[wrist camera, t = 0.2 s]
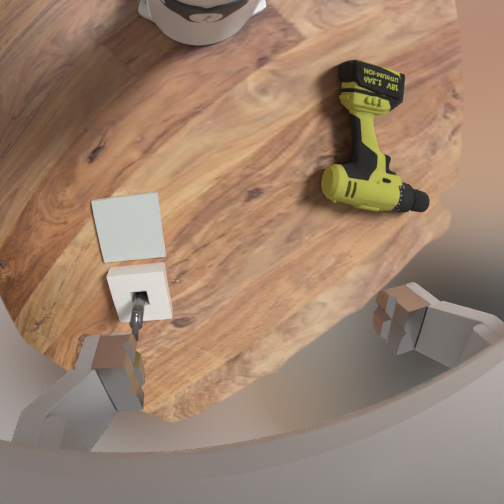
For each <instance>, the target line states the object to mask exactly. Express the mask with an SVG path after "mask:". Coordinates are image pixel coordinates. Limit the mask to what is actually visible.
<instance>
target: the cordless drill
mask: <svg viewBox="0 0 504 504" xmlns="http://www.w3.org/2000/svg"><path fill="white" fill-rule="evenodd" d="M339 79H340V81H341V82H342V86H341V95H340V96H339V98H340V103H341V104H343V105H344V106H345V108H346V109H348V110H349V112H350V122H351V131H352V141H353V154H352V160H351V162H350V163H348V164H331V165H330V166H329V167H327V168H326V169H325V171H324V173H323V175H322V180H321V188H322V192H323V194H324V195H325V196H326V197H327V198H328V199H330V200H331V201H332V202H334V203H336V202H337V201H339V202H343V203H347V204H351V205H352V206H353V207H355V208H359V209H365V210H370V211H375V212H377V211H379V210H380V211H382V212H383V211H389V210H392V211H398V212H408V211H409V210H411V211H415V212H424V211H425V210H427V208H428V207H429V205H430V201H429V197H428V195H427V194H426V193H425V192H422V191H419V190H416V189H413V188H412V187H411V186H410V185H409V184H406V183H402V181H401V178H400V176H398V175H396V173H395V172H392V171H390V170H389V163H390V160H391V158H390V156H388V155H385V154H383V153H381V152H380V150H379V147H378V144H377V140H376V136H375V132H374V127H373V118H374V116H375V115H380V114H386V113H388V112H390V111H391V110H393V109H394V108H395V107H397V106H398V105H399V104H400V103H402V101H403V93H404V82H405V75H404V74H402V73H399V72H396V71H393V70H390V69H387V68H383V67H380V66H377V65H374V64H370V63H367V62H363V61H360V60H350V61H346V62H343V63H341V64H340V65H339Z"/></svg>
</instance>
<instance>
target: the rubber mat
mask: <svg viewBox="0 0 504 504" xmlns="http://www.w3.org/2000/svg"><path fill="white" fill-rule="evenodd" d="M91 203H92V209H93V214H94V219H95V224H96V229H97V233H98V238H99V242H100V246H101V251H102V255H103V259H104V263H107V262H116V261H126V260H136V259H146V258H156V257H166V252H165V245H164V238H163V231H162V223H161V215H160V207H159V198H158V192H150V193H141V194H133V195H125V196H118V197H110V198H103V199H96V200H92V201H91Z"/></svg>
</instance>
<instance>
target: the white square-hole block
mask: <svg viewBox="0 0 504 504" xmlns="http://www.w3.org/2000/svg"><path fill="white" fill-rule="evenodd" d="M107 280H108V284H109V287H110V291H111V294H112V298H113V301H114V304H115V307H116V311H117V314H118V317H119V320H120V322H130V319H131V313H132V308H133V303H134V298H135V292H139V291H147V295H146V300H145V307H144V315H143V321H148V320H160V319H171V318H172V303H171V298H170V293H169V287H168V282H167V276H166V270H165V264H164V262H162V263H152V264H142V265H132V266H122V267H112V268H110V269H109V271H108V274H107Z"/></svg>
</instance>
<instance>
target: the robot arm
mask: <svg viewBox="0 0 504 504" xmlns="http://www.w3.org/2000/svg"><path fill="white" fill-rule="evenodd" d="M145 3H147V4H145ZM265 7H266V2H265V0H140V3H139V6H138V13H139V14H140V15H141V16H142V17H144V18H146V19H148V20H151V21H153V22H154V23H155V24H156V25H157V26H158V27H159V28H160V30H161V31H162V32H163V33H164V34H165V35H167V36H168V37H170V38H171V39H173V40H175V41H178V42H180V43H184V44H189V45H209V44H214V43H218V42H220V41H223V40H225V39H227V38H229V37H231V36H232V35H234V34H235V33H236V32H238V31H239V30H240V29H241V28H242V26H243V25H244V24H245V23H246V21H247V20H248V19H249V18H251V17H253V16H255V15H257V14H259V13H260V12H262V11H263V10H264V9H265ZM376 303H377V305H378V307H377V309H376V310H375V311H374V315H373V326H374V329H375V331H376V333H377V334H378V335H379V336H380V337H382V338H385V339H387V345H388V346H389V348H390V349H391V350H392V351H393V352H394V353H395V354H396V355H399V354H402V353H405V352H408V351H410V350H413V349H415V350H416V351H418V352H420V353H422V354H424V355H426V356H428V357H430V358H432V359H434V360H436V361H438V362H440V363H442V364H444V365H446V366H448V367H451V369H450V370H448V371H446V372H444V373H442V374H440V375H438V376H436V377H434V378H432V379H431V380H428V381H426V382H424V383H422V384H420V385H418V386H416V387H414V388H412V389H409V390H407V391H405V392H403V393H400V394H398V395H396V396H394V397H391V398H389V399H387V400H384V401H381V402H379V403H376V404H374V405H372V406H369V407H366V408H364V409H361V410H358V411H355V412H352V413H349V414H347V415H344V416H341V417H338V418H335V419H331V420H328V421H325V422H322V423H318V424H315V425H312V426H308V427H305V428H301V429H297V430H293V431H290V432H285V433H282V434H277V435H272V436H268V437H263V438H259V439H254V440H249V441H244V442H237V443H232V444H225V445H219V446H212V447H204V448H195V449H186V450H174V451H161V452H134V453H113V452H111V453H110V452H90V451H91V449H92V448H93V447H94V445H95V444H96V442H97V441H98V440H99V438H100V437H101V435H102V434H103V433H104V431H105V430H106V428H107V427H108V426H109V424H110V423H111V421H112V420H113V418H114V417H115V416H116V414H117V411H132V410H143V405H144V392H143V389H142V387H141V386H142V385H143V384H144V383H145V370H144V364H143V360H142V357H141V354H139V353H138V352H137V351H136V345H137V343H136V340H135V337H134V335H133V334H132V333H119V334H104V335H91V336H87V337H86V338H85V340H84V343H83V346H82V348H81V351H80V354H79V357H78V360H77V363H76V366H75V369H74V370H70V371H68V372H67V373H66V374H65V375H64V376H63V377H61V378H60V379H59V380H58V381H57V382H55V383H54V384H53V385H52V386H51V387H49V388H48V389H47V390H46V391H45V392H44V393H42V394H41V395H40V396H39V397H38V398H37V399H35V400H34V401H33V402H32V403H31V404H30V405H29V406H27V407H26V408H25V409H24V410H23V411H22V412H21V414H20V417H19V420H18V423H17V426H16V429H15V432H14V435H13V438H12V441H11V442H9V441H4V440H0V504H504V322H502V321H501V320H500V319H498V318H497V317H496V316H495V315H492V314H488V313H484V312H481V311H477V310H473V309H470V308H467V307H463V306H459V305H456V304H452V303H449V302H445V301H442V302H440V301H439V300H437V299H436V298H435V297H434V296H432V295H431V294H430V293H428V292H427V291H426V290H424V289H423V288H422V287H420V286H419V285H418V284H416V283H413V282H411V283H407V284H404V285H401V286H398V287H394V288H391V289H386V290H382V291H379V293H378V295H377V298H376Z"/></svg>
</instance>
